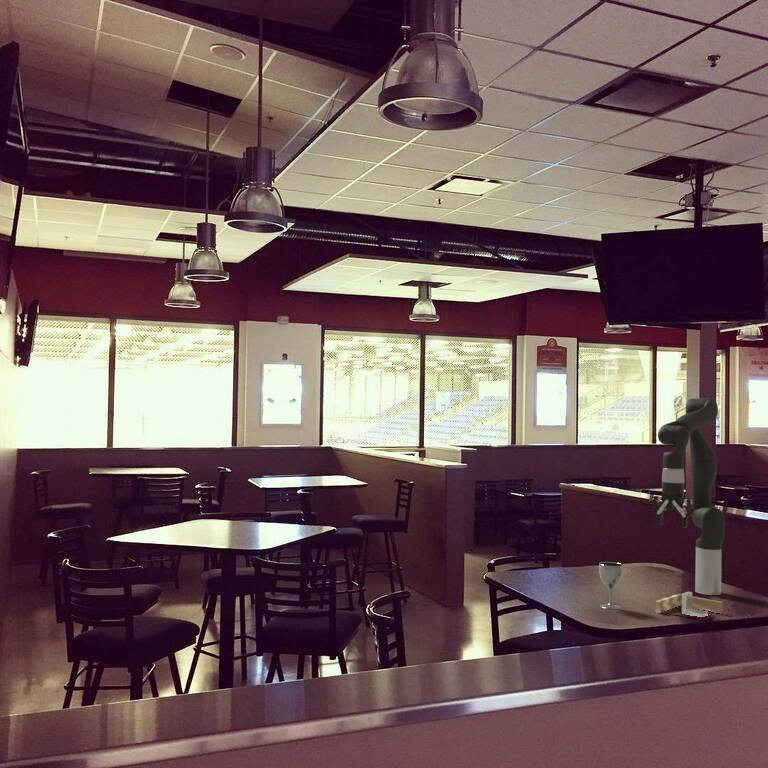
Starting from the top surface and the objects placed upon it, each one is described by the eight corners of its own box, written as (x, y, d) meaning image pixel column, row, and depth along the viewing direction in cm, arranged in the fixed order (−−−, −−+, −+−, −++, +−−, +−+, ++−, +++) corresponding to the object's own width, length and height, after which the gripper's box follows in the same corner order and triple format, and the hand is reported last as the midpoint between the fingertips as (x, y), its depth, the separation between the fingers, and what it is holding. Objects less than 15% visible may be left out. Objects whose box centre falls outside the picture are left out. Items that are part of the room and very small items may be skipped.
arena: (678, 604, 280) (678, 593, 280) (722, 613, 269) (723, 601, 269) (655, 612, 267) (655, 600, 268) (701, 622, 256) (701, 609, 257)
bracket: (681, 614, 266) (681, 593, 266) (687, 611, 269) (688, 591, 269) (702, 618, 261) (702, 597, 261) (708, 616, 264) (708, 595, 264)
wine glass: (612, 610, 268) (613, 566, 269) (593, 605, 275) (594, 563, 275) (626, 608, 273) (627, 564, 274) (608, 603, 280) (608, 561, 280)
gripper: (649, 479, 283) (648, 524, 282) (688, 483, 273) (687, 529, 272) (658, 479, 288) (658, 523, 288) (697, 482, 278) (696, 528, 278)
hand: (672, 526), depth 280 cm, fingers open, 8 cm apart
